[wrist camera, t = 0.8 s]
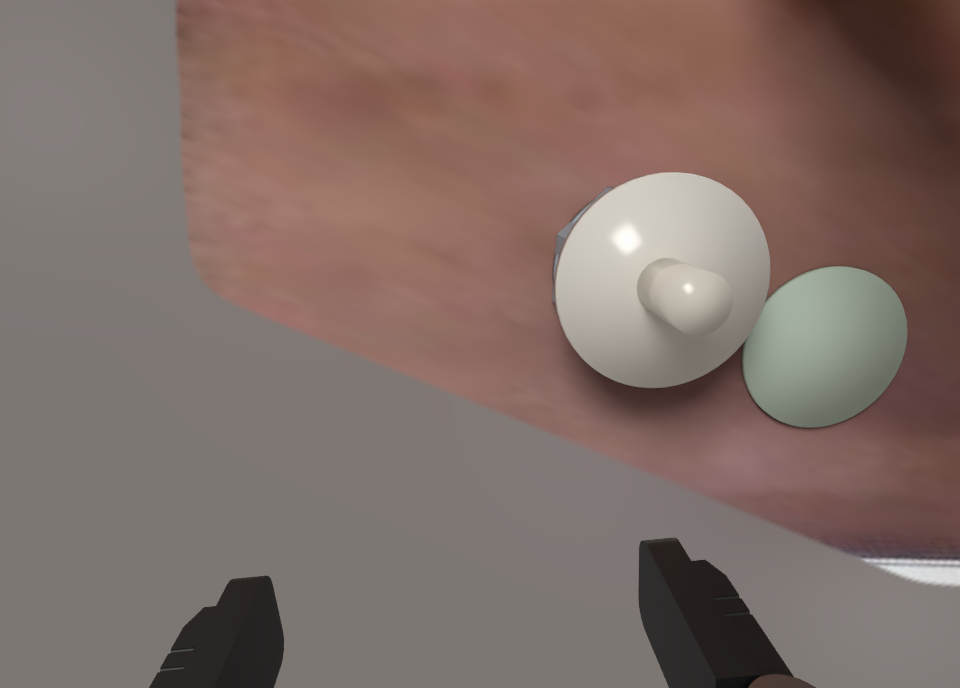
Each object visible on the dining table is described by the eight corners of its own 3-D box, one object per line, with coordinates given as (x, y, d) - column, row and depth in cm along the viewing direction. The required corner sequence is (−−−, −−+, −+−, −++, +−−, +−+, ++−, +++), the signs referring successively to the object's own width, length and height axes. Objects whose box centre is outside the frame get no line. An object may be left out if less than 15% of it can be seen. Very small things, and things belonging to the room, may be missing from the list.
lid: (678, 123, 29) (728, 112, 24) (802, 286, 32) (870, 307, 27) (509, 280, 31) (524, 301, 26) (642, 421, 34) (678, 465, 29)
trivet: (846, 229, 36) (851, 230, 36) (932, 350, 39) (937, 351, 39) (708, 347, 38) (711, 349, 37) (800, 455, 41) (803, 457, 40)
